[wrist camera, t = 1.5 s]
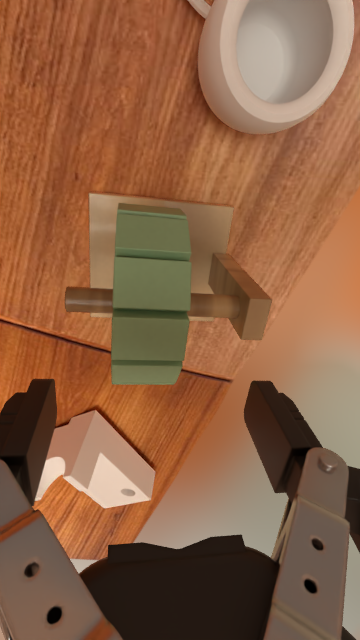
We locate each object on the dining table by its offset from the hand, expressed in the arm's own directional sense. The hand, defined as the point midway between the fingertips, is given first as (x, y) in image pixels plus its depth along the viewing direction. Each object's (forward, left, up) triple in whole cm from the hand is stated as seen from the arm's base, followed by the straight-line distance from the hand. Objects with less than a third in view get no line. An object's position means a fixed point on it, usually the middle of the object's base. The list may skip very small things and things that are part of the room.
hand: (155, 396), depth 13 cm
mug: (-9, +14, -19) cm, 25 cm away
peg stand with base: (+1, +1, -19) cm, 19 cm away
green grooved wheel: (0, 0, -10) cm, 10 cm away
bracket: (+17, -19, -19) cm, 32 cm away
